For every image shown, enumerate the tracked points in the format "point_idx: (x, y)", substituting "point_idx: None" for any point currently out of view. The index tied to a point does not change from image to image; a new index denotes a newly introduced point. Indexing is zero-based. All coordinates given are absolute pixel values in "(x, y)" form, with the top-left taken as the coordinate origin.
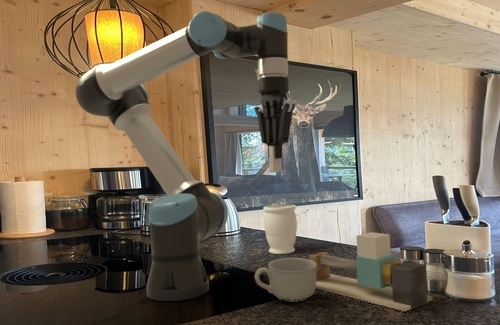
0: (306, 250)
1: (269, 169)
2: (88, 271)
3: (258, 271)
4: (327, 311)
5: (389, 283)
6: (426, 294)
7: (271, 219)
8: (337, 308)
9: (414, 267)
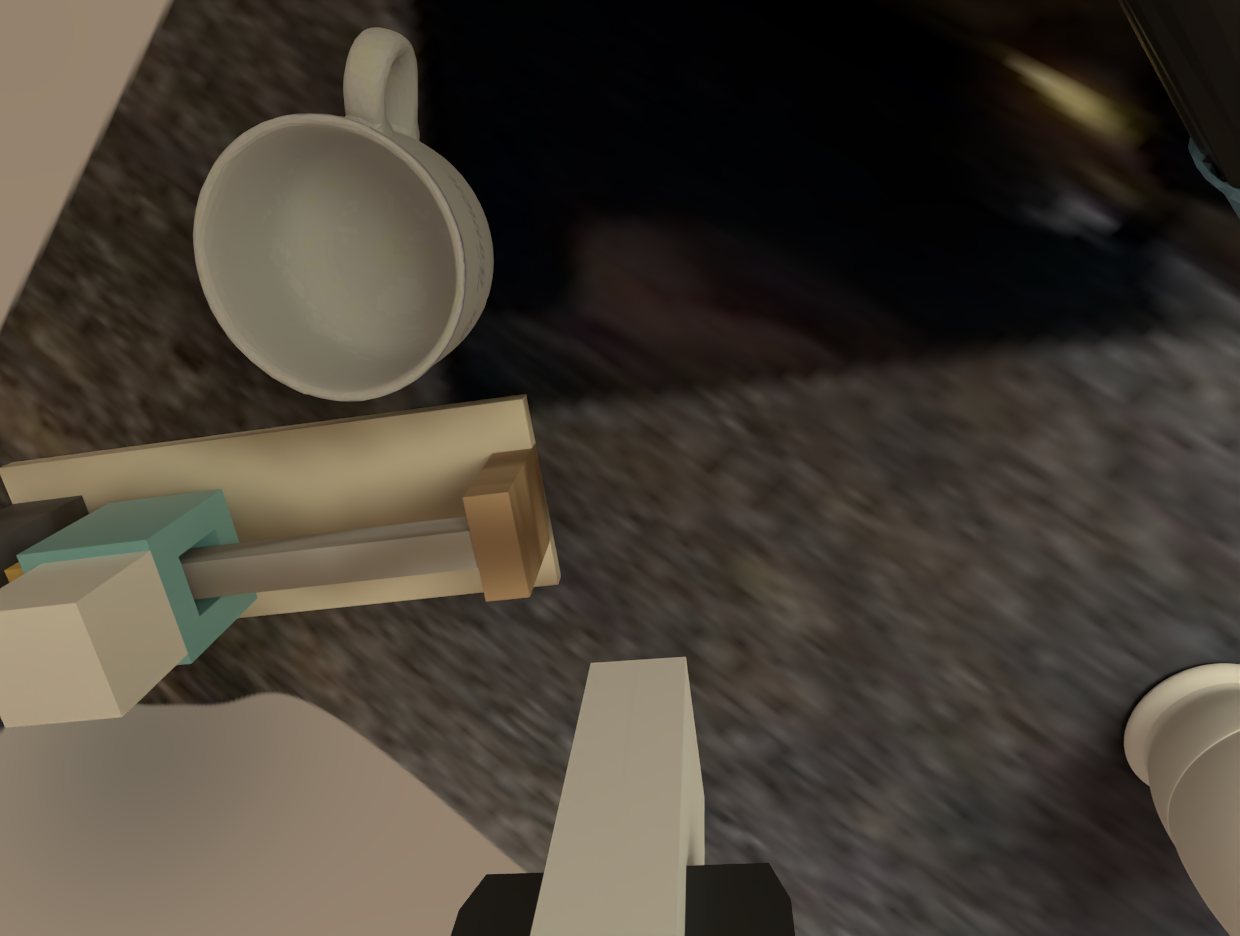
0: (1098, 824)
1: (682, 680)
2: None
3: (357, 40)
4: (165, 255)
5: None
6: None
7: None
8: (177, 312)
9: None
